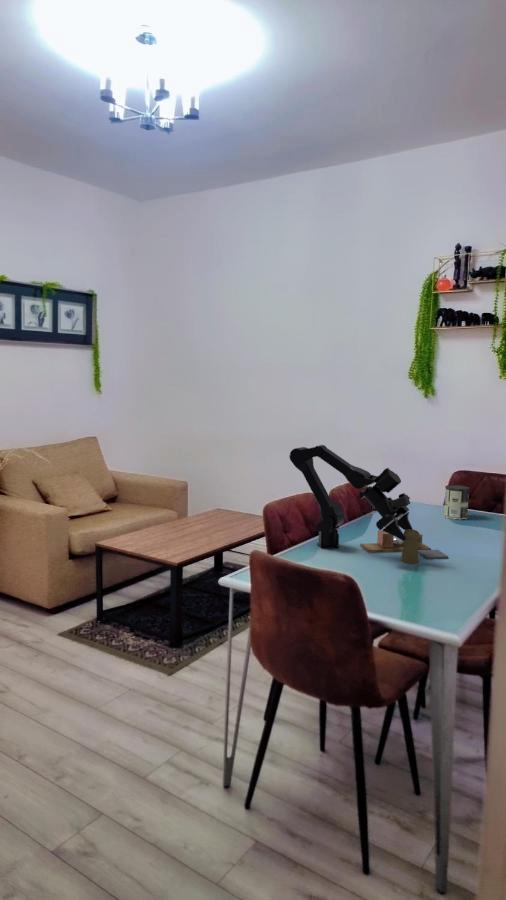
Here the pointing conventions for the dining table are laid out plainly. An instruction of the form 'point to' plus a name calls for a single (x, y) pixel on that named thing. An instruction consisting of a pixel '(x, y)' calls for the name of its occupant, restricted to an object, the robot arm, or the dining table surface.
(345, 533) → the dining table surface
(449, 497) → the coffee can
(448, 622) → the dining table surface
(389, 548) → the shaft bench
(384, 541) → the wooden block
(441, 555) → the seat pad
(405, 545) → the cork
